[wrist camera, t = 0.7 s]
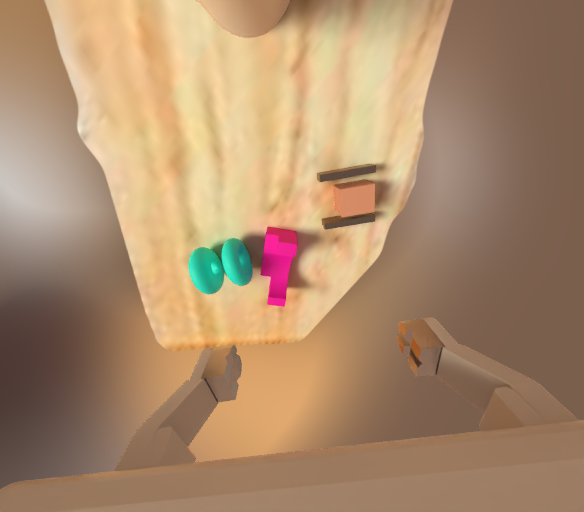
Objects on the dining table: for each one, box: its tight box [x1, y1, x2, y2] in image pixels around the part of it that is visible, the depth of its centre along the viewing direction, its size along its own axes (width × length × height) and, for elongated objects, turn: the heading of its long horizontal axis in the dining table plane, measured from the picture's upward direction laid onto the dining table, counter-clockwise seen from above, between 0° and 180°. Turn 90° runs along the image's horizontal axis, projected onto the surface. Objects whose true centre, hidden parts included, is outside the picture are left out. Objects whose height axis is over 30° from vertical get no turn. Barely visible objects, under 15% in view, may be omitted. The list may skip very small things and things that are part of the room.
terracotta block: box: [333, 180, 375, 217], centre depth 40 cm, size 5×6×6 cm
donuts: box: [189, 238, 252, 294], centre depth 43 cm, size 10×10×10 cm
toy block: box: [261, 227, 298, 306], centre depth 45 cm, size 15×6×8 cm, turn 169°
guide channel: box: [317, 164, 376, 229], centre depth 41 cm, size 10×10×4 cm
